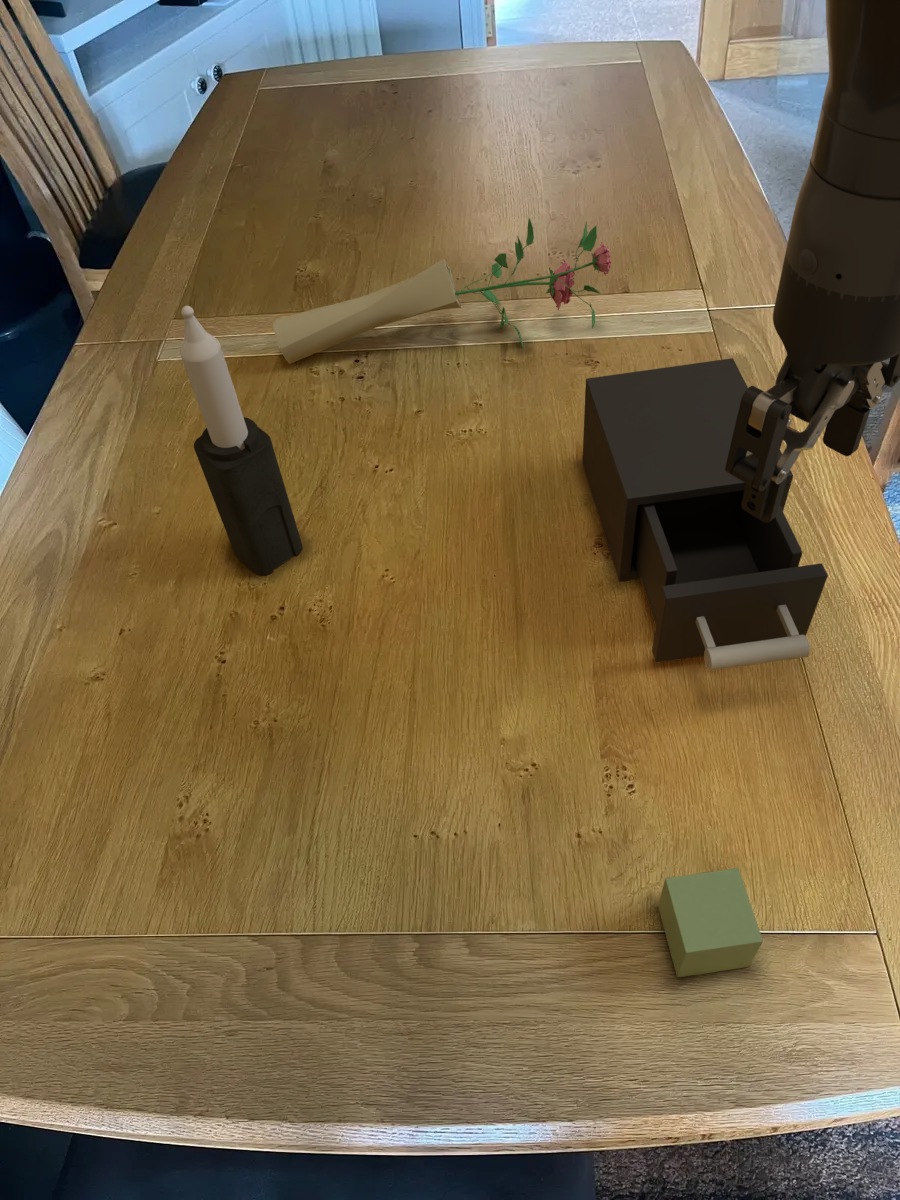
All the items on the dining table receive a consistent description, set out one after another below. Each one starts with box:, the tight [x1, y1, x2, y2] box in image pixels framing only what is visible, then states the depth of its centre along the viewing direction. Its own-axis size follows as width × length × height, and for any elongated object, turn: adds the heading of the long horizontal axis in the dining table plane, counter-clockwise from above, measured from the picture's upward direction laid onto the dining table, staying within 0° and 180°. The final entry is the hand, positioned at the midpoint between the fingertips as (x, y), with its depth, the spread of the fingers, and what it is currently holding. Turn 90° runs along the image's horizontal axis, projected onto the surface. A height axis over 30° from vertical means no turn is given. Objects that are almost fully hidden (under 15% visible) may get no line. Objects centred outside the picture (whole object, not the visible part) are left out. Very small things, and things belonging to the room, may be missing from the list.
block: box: [657, 867, 764, 978], centre depth 58 cm, size 5×5×5 cm
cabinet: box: [581, 357, 794, 582], centre depth 79 cm, size 15×13×10 cm
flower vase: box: [272, 216, 612, 365], centre depth 98 cm, size 12×12×35 cm
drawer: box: [632, 490, 829, 672], centre depth 72 cm, size 18×12×8 cm, turn 7°
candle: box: [179, 305, 303, 577], centre depth 74 cm, size 5×5×25 cm
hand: (799, 480), depth 61 cm, fingers open, 8 cm apart
